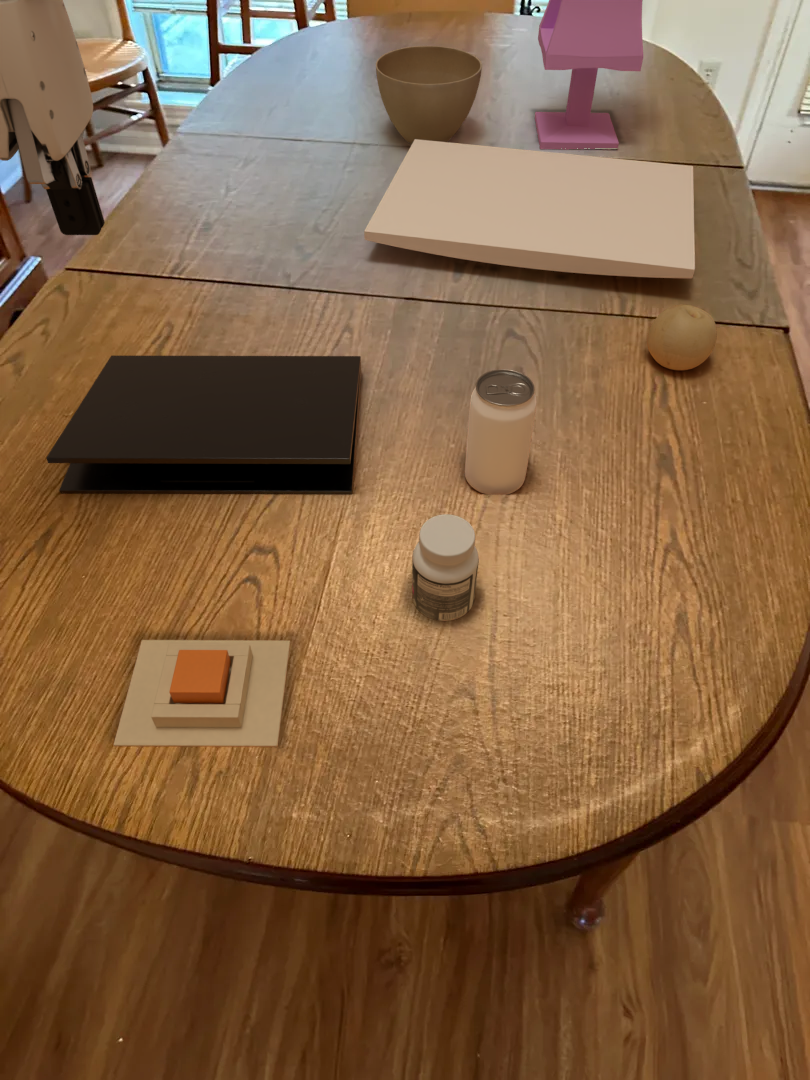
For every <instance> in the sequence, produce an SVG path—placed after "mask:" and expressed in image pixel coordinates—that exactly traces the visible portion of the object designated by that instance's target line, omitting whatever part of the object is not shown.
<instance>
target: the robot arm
mask: <svg viewBox="0 0 810 1080" xmlns="http://www.w3.org/2000/svg"><path fill="white" fill-rule="evenodd" d="M93 113H94V100H93V96H92V91H91V86H90V83H89V79H88V75H87V72H86V68H85V65H84V61H83V57H82V54H81V50H80V48H79V44H78V42H77V38H76V35H75V32H74V29H73V26H72V23H71V20H70V17H69V14H68V11H67V8H66V5H65V3H64V0H0V161H4V162H6V161H7V162H8V161H10V160H11V159H12V158H13V157H14V156H15V155H16V154H17V153H18V151H19V154H20V157H21V158H20V159H21V162H22V166H23V170H24V174H25V177H26V181H27V183H28V184H29V185H41V187H42V188H43V189H44V190H45V191H46V194H47V197H48V199H49V202H50V206H51V209H52V212H53V214H54V217H55V220H56V223H57V225H58V229H59V231H60V233H61V234H62V235H63V236H98V235H99V234H100V233H101V231H102V229H103V227H104V225H105V217H104V214H103V211H102V209H101V205H100V201H99V198H98V195H97V192H96V188H95V185H94V182H93V178H92V176H90V175H91V165H90V160H89V157H88V153H87V149H86V143H85V140H84V133H85V130H86V127H87V126H88V124H89V122H90V121H91V119H92V117H93Z"/></svg>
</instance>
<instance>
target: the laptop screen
mask: <svg viewBox="0 0 810 1080" xmlns="http://www.w3.org/2000/svg"><path fill="white" fill-rule="evenodd" d="M360 364H361V365H362V356H360V355H110V357H109V358H108V360H107V361H106V363H105V365H104V366H103V368H102V369H101V371H100V372H99V374H98V376H97V377H96V379H95V381H94V382H93V384H92V385H91V386H90V389H89V390H88V391H87V392H86V394H85V396H84V397H83V399H82V401H81V402H80V404H79V405H78V407H77V409H76V410H75V411H74V413H73V414H72V416H71V418H70V420H69V421H68V423H67V424H66V426H65V427H64V429H63V430H62V433H61V434H60V435H59V436H58V439H57V440H56V442H55V443H54V445H53V447H52V448H51V450H50V451H49V453H48V454H47V456H46V458H45V459H46V461H47V463H48V464H70V463H132V464H350V461H351V451H352V442H353V432H354V422H355V413H356V403H357V393H358V384H359V374H360Z"/></svg>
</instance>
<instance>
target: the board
mask: <svg viewBox="0 0 810 1080" xmlns="http://www.w3.org/2000/svg"><path fill="white" fill-rule="evenodd" d="M694 192H695V191H694V166H693V165H687V164H686V165H685V164H677V163H676V164H675V163H665V162H655V161H645V160H634V159H624V158H614V157H613V158H612V157H604V156H594V155H593V156H592V155H585V154H584V155H583V154H572V153H563V152H562V153H561V152H552V151H542V150H530V149H520V148H510V147H501V146H490V145H479V144H470V143H457V142H450V141H448V142H439V141H428V140H418V139H415V140H414V142H413V143H412V144H410V147H409V149H408V151H407V153H406V154H405V156H404V158H403V160H402V161H401V163H400V165H399V167H398V169H397V171H396V173H395V174H394V176H393V178H392V180H391V182H390V183H389V185H388V186H387V188H386V191H385V193H384V194H383V197H382V198H381V200H380V202H379V203H378V205H377V207H376V209H375V211H374V213H373V214H372V216H371V217H370V219H369V222H368V224H367V225H366V227H365V229H364V231H363V234H364V235H363V236H364V241H369V242H371V243H377V244H382V245H386V246H392V247H396V248H399V249H404V250H410V251H415V252H421V253H426V254H431V255H436V256H443V257H448V258H455V259H459V260H466V261H473V262H480V263H485V264H493V265H501V266H509V267H516V268H523V269H524V268H525V269H531V270H541V271H542V270H543V271H550V272H551V271H552V272H553V271H554V272H560V273H561V272H562V273H571V274H573V273H575V274H584V275H585V274H586V275H597V276H598V275H599V276H614V277H615V276H617V277H631V278H633V277H634V278H656V279H657V278H658V279H659V278H660V279H663V278H664V279H693V277H694V274H695V270H696V254H695V251H696V249H695V203H694V198H695V197H694V196H695V195H694V194H695V193H694Z"/></svg>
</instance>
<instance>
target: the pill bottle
mask: <svg viewBox="0 0 810 1080" xmlns="http://www.w3.org/2000/svg"><path fill="white" fill-rule="evenodd" d="M418 534H419V535H418V542H417V543H416V544H415V547H414V549H413V550H412V551H413V552H412V560H411V563H412V564H411V566H412V570H411V576H412V578H411V582H412V583H411V597H412V599H411V600H412V603H413V605H414V607H415V608H416V610H417V611H418V612H419V613H420V614H422V615H423V616H425V617H426V618H428V619H430V620H434V621H437V622H450V621H455V620H458V619H460V618H462V617H464V616H465V615H467V614H468V613H469V611H470V610H471V609H472V607H473V606H474V603H475V597H476V588H477V580H478V579H477V578H478V572H479V571H478V570H479V564H480V563H479V562H480V557H479V556H480V555H479V552H478V551H479V550H478V548H477V547H476V532H475V529H474V527H473V526H472V525H471V523H470V522H469V521H468V520H467V519H465V518H463V517H462V516H460V515H459V516H458V515H455V514H448V513H446V514H445V513H444V514H438V515H434V516H432V517H430V518H429V519H427V520H426V521H425V522H424V523H423V524H422V525H421V528H420V529H419V533H418Z"/></svg>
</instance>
